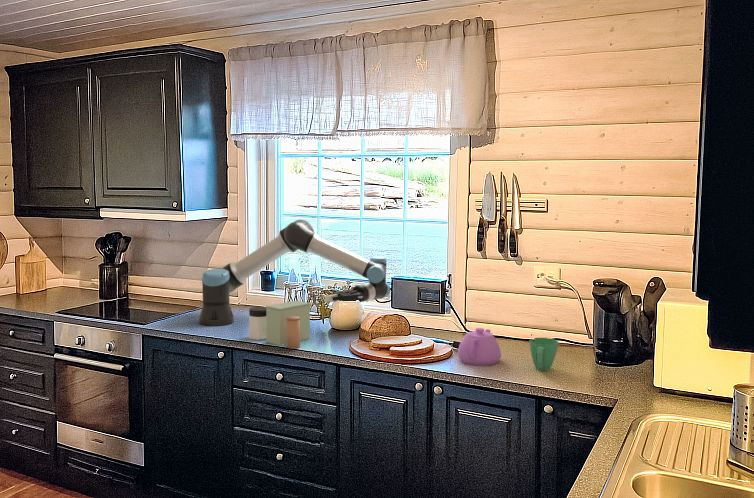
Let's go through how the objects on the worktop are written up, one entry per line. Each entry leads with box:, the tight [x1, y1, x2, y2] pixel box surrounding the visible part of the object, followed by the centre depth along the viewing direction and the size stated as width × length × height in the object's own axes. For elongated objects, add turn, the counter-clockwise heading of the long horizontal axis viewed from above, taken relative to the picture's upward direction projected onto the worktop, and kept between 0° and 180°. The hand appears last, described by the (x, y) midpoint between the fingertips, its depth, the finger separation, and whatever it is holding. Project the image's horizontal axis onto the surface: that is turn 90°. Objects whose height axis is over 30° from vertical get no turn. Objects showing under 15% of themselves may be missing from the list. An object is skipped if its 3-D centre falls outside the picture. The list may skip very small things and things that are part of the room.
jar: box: [248, 306, 267, 341], centre depth 283 cm, size 9×8×12 cm
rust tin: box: [286, 316, 301, 350], centre depth 268 cm, size 5×5×12 cm
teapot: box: [457, 327, 502, 367], centre depth 252 cm, size 22×16×12 cm
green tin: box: [265, 300, 311, 346], centre depth 279 cm, size 8×16×15 cm, turn 139°
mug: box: [529, 337, 559, 371], centre depth 240 cm, size 15×10×10 cm
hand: (325, 299), depth 293 cm, fingers closed
